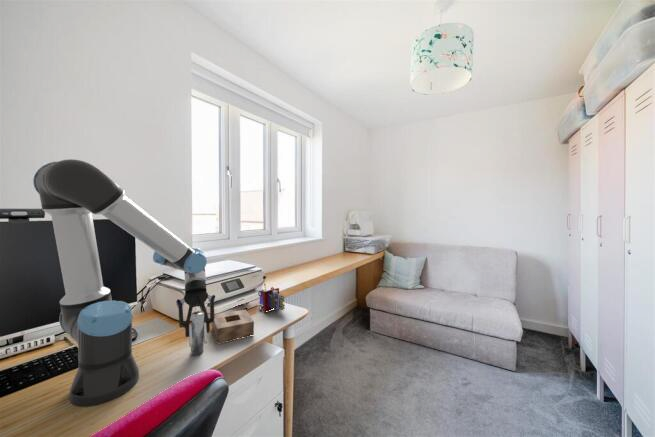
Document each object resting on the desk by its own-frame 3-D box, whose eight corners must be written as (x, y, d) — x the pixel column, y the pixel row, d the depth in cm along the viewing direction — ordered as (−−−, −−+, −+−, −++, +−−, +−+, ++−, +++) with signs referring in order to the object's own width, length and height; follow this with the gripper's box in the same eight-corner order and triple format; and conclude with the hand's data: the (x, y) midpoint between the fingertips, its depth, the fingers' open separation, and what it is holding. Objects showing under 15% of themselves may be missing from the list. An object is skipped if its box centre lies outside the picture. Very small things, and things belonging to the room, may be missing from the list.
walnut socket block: (216, 344, 99) (217, 328, 99) (212, 328, 111) (212, 315, 111) (253, 335, 106) (253, 321, 106) (245, 322, 118) (245, 309, 118)
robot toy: (267, 304, 143) (291, 312, 130) (252, 309, 136) (277, 317, 123) (266, 273, 143) (290, 277, 130) (251, 276, 136) (275, 281, 123)
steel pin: (191, 356, 90) (192, 316, 90) (190, 350, 94) (191, 312, 93) (203, 353, 92) (204, 314, 92) (202, 347, 96) (203, 310, 95)
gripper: (217, 285, 110) (223, 342, 96) (170, 291, 101) (169, 353, 88) (219, 276, 105) (225, 334, 92) (170, 281, 96) (169, 346, 83)
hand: (198, 343), depth 90 cm, fingers closed on steel pin, 4 cm apart
